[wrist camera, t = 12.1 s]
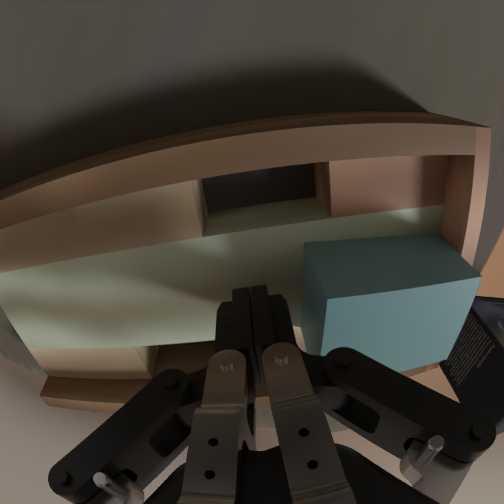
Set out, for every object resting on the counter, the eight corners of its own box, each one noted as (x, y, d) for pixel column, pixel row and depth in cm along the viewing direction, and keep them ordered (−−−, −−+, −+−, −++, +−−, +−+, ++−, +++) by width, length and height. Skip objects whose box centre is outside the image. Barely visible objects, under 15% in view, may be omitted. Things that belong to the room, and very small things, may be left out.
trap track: (-13, 196, 14) (-62, 230, 9) (429, 112, 13) (491, 128, 9) (68, 358, 21) (48, 405, 16) (408, 318, 20) (437, 367, 16)
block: (304, 242, 13) (327, 299, 10) (436, 233, 13) (482, 276, 10) (300, 327, 16) (315, 388, 12) (415, 310, 16) (446, 359, 12)
